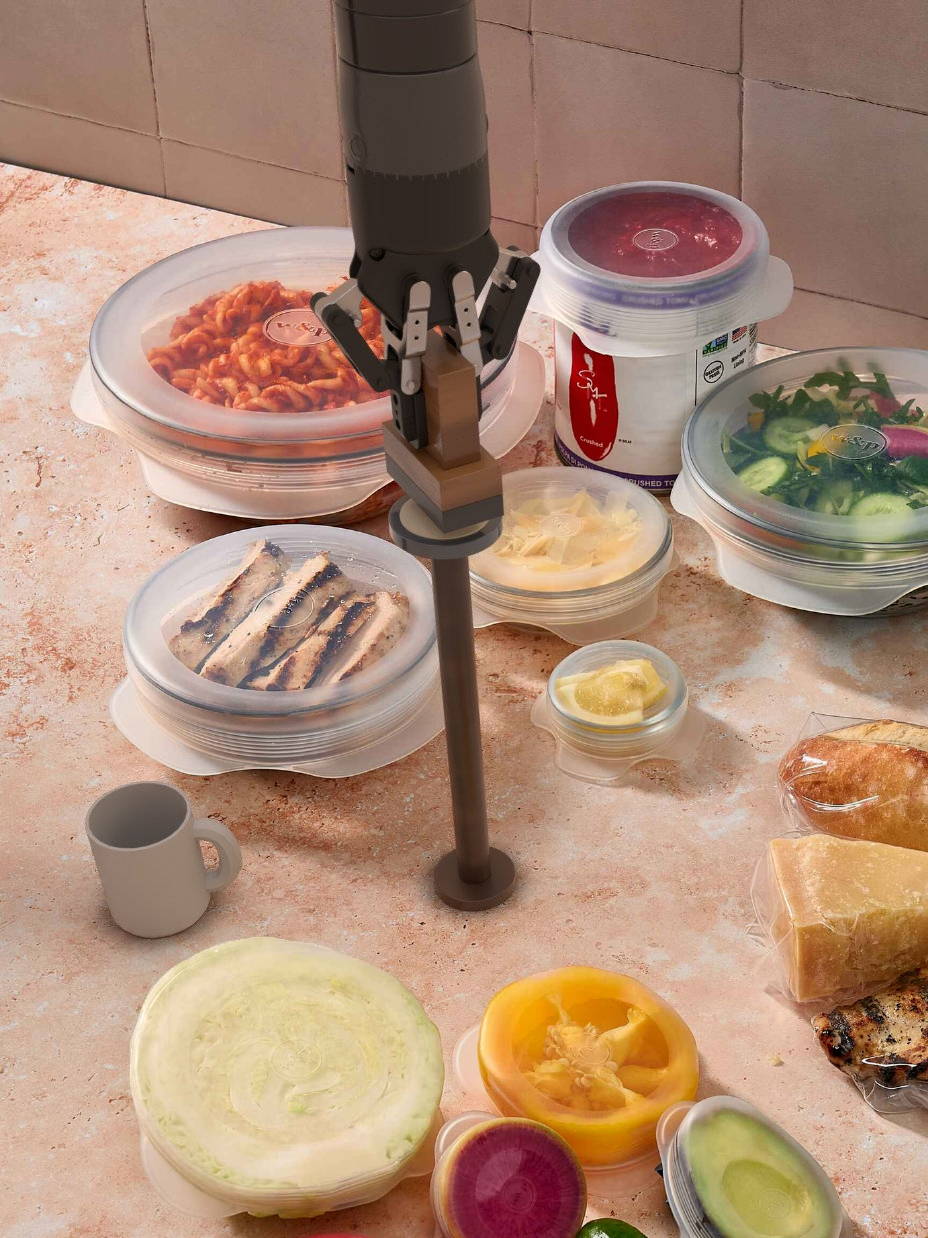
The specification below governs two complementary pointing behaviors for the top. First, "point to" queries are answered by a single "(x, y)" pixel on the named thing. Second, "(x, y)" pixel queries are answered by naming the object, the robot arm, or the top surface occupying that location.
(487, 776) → the top surface
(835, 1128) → the top surface
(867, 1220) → the top surface
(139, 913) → the cup
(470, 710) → the stand
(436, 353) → the brush
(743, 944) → the top surface
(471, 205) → the robot arm
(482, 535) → the plate
